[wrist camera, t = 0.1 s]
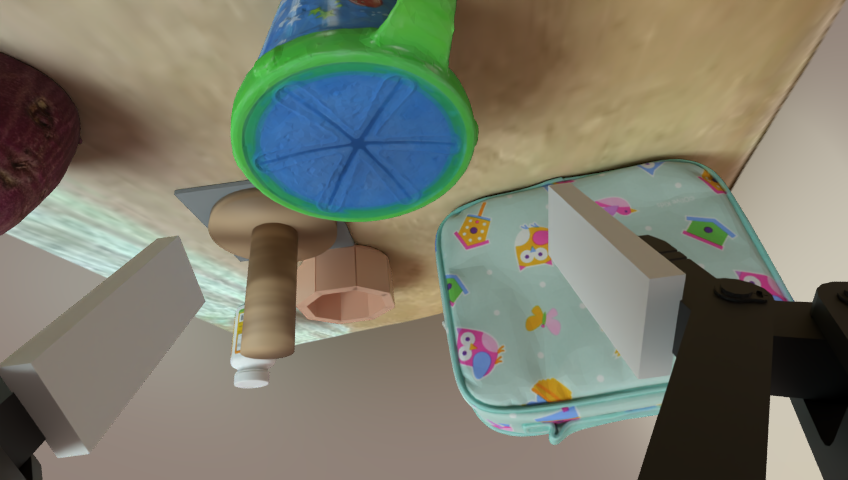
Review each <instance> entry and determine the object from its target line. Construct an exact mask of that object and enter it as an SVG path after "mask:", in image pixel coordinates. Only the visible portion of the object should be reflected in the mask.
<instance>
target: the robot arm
mask: <svg viewBox="0 0 848 480" xmlns="http://www.w3.org/2000/svg"><path fill="white" fill-rule="evenodd" d="M548 255H549V256H550V258H551V259H552V260H553V262H554V263H555V265H556V266H557V267H558V269H559V270H560V272H561V273H562V274H563V276H564V277H565V279H566V280H567V281H568V283H569V284H570V285H571V287H572V288H573V290H574V291H575V292H576V294H577V295H578V297H579V298H580V299H581V301H582V302H583V304H584V305H585V306H586V308H587V309H588V310H589V312H590V313H591V315H592V316H593V317H594V319H595V320H596V322H597V323H598V324H599V326H600V327H601V328H602V330H603V331H604V333H605V334H606V335H607V337H608V338H609V340H610V341H611V342H612V344H613V345H614V347H615V348H616V349H617V351H618V352H619V353H620V355H621V356H622V358H623V359H624V360H625V362H626V363H627V365H628V366H629V367H630V369H631V370H632V372H633V373H634V374H635V376H636V377H637V378H638V379H646V378H653V377H661V376H668V375H670V374H671V376H670V379H669V382H668V385H667V388H666V391H665V395H664V398H663V401H662V404H661V407H660V410H659V414H658V417H657V420H656V423H655V426H654V430H653V433H652V436H651V439H650V442H649V445H648V448H647V452H646V455H645V458H644V461H643V464H642V467H641V471H640V474H639V477H638V480H766V463H767V462H766V461H767V443H768V424H769V407H770V406H769V405H770V395H773V396H783V397H789V398H790V400H791V402H792V405H793V407H794V409H795V412H796V414H797V417H798V419H799V421H800V424H801V426H802V429H803V431H804V433H805V436H806V438H807V441H808V443H809V446H810V448H811V450H812V453H813V455H814V457H815V460H816V462H817V465H818V467H819V469H820V472H821V474H822V477H823V479H824V480H848V282H829V283H825V284H822V285H820V286H819V287H818V288H817V290H816V293H815V296H814V299H813V302H793V301H776V300H774V298H773V295H772V294H771V293H769V292H768V291H767V290H766V289H764V288H762V287H760V286H758V285H755V284H753V283H750V282H746V281H743V280H739V279H730V278H715V277H714V276H713V275H711V274H710V273H709V272H707V271H706V270H704V269H703V268H702V267H700V266H699V265H698V264H696V263H695V262H693V261H692V260H691V259H687V256H685V255H684V254H682V253H681V252H680V251H679V252H678V251H677V249H676V248H674V247H673V246H671V245H670V244H669V243H667V242H666V241H664V240H661V239H658V238H656V237H653V236H650V235H641V236H637V235H636V234H634V233H633V232H632V231H631V230H629V229H628V228H627V227H626V226H624V225H623V224H622V223H621V222H619V221H618V220H617V219H616V218H614V217H613V216H612V215H610V214H609V213H608V212H607V211H605V210H604V209H603V208H602V207H600V206H599V205H598V204H597V203H595V202H594V201H593V200H592V199H590V198H589V197H588V196H586V195H585V194H584V193H583V192H581V191H580V190H579V189H578V188H576V187H575V186H574V185H573V184H571V183H570V182H569V183H562V184H555V185H548ZM204 303H205V299H204V297H203V294H202V292H201V289H200V287H199V284H198V282H197V279H196V277H195V274H194V272H193V269H192V267H191V264H190V262H189V259H188V257H187V254H186V252H185V249H184V247H183V244H182V242H181V239H180V237H179V236H173V237H165V238H158V239H156V240H155V241H154V242H153V243H151V244H150V245H149V246H147V247H146V248H145V249H144V250H142V251H141V252H140V253H139V254H137V255H136V256H135V257H134V258H132V259H131V260H130V261H129V262H127V263H126V264H125V265H124V266H122V267H121V268H120V269H119V270H117V271H116V272H115V273H114V274H112V275H111V276H110V277H108V278H107V279H106V280H105V281H103V282H102V283H101V284H100V285H98V286H97V287H96V288H95V289H93V290H92V291H91V292H90V293H89V294H87V295H86V296H85V297H83V298H82V299H81V300H80V301H78V302H77V303H76V304H75V305H73V306H72V307H71V308H69V309H68V310H67V311H66V312H64V313H63V314H62V315H61V316H59V317H58V318H57V319H56V320H54V321H53V322H52V323H51V324H49V325H48V326H47V327H46V328H44V329H43V330H42V331H41V332H39V333H38V334H37V335H36V336H34V337H33V338H32V339H30V340H29V341H28V342H27V343H25V344H24V345H23V346H22V347H20V348H19V349H18V350H17V351H15V352H14V353H13V354H12V355H10V356H9V357H8V358H7V359H5V360H4V361H3V362H2V363H0V480H42V470H41V464H40V463H39V461H38V460H37V459H36V457H35V456H34V455H33V453H34V452H35V451H36V450H37V448H38V447H39V446H40V445H41V444H42V443H43V442H44V441H45V440H46V442H47V443H48V445H49V446H50V448H51V449H52V450H53V452H54V453H55V455H56V456H57V457H58V458H61V457H69V456H76V455H84V454H90V453H91V451H92V450H93V449H94V447H95V446H96V445H97V444H98V442H99V441H100V439H101V438H102V437H103V436H104V434H105V433H106V432H107V430H108V429H109V428H110V426H111V425H112V424H113V422H114V421H115V420H116V418H117V417H118V416H119V415H120V413H121V412H122V410H123V409H124V408H125V407H126V405H127V404H128V403H129V401H130V400H131V399H132V397H133V396H134V395H135V393H136V392H137V391H138V390H139V388H140V387H141V386H142V384H143V383H144V382H145V380H146V379H147V378H148V376H149V375H150V374H151V372H152V371H153V370H154V368H155V367H156V366H157V364H158V363H159V362H160V361H161V359H162V358H163V357H164V355H165V354H166V353H167V351H168V350H169V349H170V347H171V346H172V345H173V343H174V342H175V341H176V339H177V338H178V337H179V335H180V334H181V333H182V331H183V330H184V329H185V328H186V326H187V325H188V324H189V322H190V321H191V320H192V318H193V317H194V316H195V314H196V313H197V312H198V311H199V309H200V308H201V307H202V305H203V304H204ZM673 355H675V357H676V360H675V363H674V366H673V369H672V373H671V368H672V361H673Z"/></svg>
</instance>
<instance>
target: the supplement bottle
mask: <svg viewBox="0 0 848 480" xmlns="http://www.w3.org/2000/svg"><path fill="white" fill-rule="evenodd" d="M244 307H245V305H242V306H240V307H239V308H237V310H236V313H235V322H234V331H233V341H232V350H231V365H232V367H233V368H235V369H237V370H238V371H237V372H236V373H235V377H234V385H235V386H236V387H239V388H257V387H262V386H266V385H268V384H269V373H270V372H269V371H268V368H270V367H272V366H273V365H274V364H275V362H276V359H252V358H247V357H244V356H242V355H241V354H240V348H241V338H242V328H243V317H244Z"/></svg>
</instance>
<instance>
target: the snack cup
mask: <svg viewBox="0 0 848 480" xmlns="http://www.w3.org/2000/svg"><path fill="white" fill-rule="evenodd" d="M456 1H457V0H282V1H281V3H280V5H279V7H278V10H277V13H276V15H275V18H274V20H273V22H272V26H271V28H270V30H269V32H268V35H267V38H266V40H265V43H264V45H263V48H262V50H261V53H260V55H259V58H258V60H257V61H256V62H255V65H254V67H253V68H252V69H251V70H250V71H249V72H248V74H247V75H246V77H245V79H244V81H243V83H242V85H241V86H240V88H239V90H238V92H237V94H236V97H235V100H234V104H233V109H232V116H231V144H232V149H233V156H234V158H235V161H236V163H237V165H238V167H239V168H240V169H241V170H242V172H243V173H244V174H245V176H246V177H247V178H248V179H249V181H250V182H251V183H252V184H253V185H254V186H255V187H256V188H257V189H259V190H260V191H261V192H262V193H263V194H264V195H266V196H267V197H269V198H270V199H271V200H273V201H275V202H277V203H279V204H280V205H282V206H284V207H286V208H289V209H291V210H294V211H297V212H299V213H302V214H305V215H308V216H313V217H316V218H321V219H327V220H334V221H344V222H367V221H377V220H383V219H388V218H393V217H397V216H401V215H403V214H407V213H410V212H412V211H415V210H417V209H420V208H422V207H424V206H426V205H428V204H429V203H431V202H433V201H435V200H436V199H438V198H439V197H441V196H442V195H444V194H445V193H446V192H447V191H448V190H450V189H451V188H452V187H453V186H454V185H455V184H456V182H457V181H458V180H459V179H460V178H461V176H462V175H463V174H464V172H465V171H466V169H467V167H468V165H469V163H470V161H471V158H472V155H473V152H474V147H475V146H476V144H477V141H478V133H479V130H478V125H477V122H476V121H475V119H474V116H473V112H472V108H471V105H470V102H469V99H468V97H467V95H466V92H465V90H464V88H463V87H462V85H461V83H460V81H459V79H458V78H457V77H456V75H455V74H454V73H453V72H452V71H451V70H450V68H449V67H448V65H449V54H450V50H451V43H452V36H453V32H454V30H455V28H454V16H455V11H456Z"/></svg>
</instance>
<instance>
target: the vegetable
mask: <svg viewBox="0 0 848 480" xmlns="http://www.w3.org/2000/svg"><path fill="white" fill-rule="evenodd" d="M80 129H81V128H80V118H79V114H78V109H77V108H76V106H75V105H74V103H73V102H72V100H71V99H70V97H69V96H68V95H67V94H66V92H65V91H64V90H63V89H62V88H61V87H59V86H58V85H57V84H56V83H55V82H54V81H53V80H52V79H50V78H49V77H48V76H46V75H45V74H43V73H42V72H40V71H38V70H36V69H34V68H32V67H31V66H29V65H26V64H24V63H22V62H20V61H19V60H16V59H15V58H12V57H9V56H7V55H5V54H3V53H0V235H2V234H4V233H5V232H7V231H8V230H10V229H12V228H13V227H14V226H16V225H17V224H18V223H20V222H21V221H22V220H23V219H24V218H25V217H26V216H27V215H28V214H29V213H30V212H32V211H33V210H34V209H35V208H36V207H37V206H38V205H39V204H40V203H41V202H42V201H43V200H44V199H45V198H46V197H47V196H48V195H49V194H50V193H51V192H52V191H53V190H54V189H55V188H56V187H57V185H58V184H59V183H60V181H61V180H62V178H63V176H64V175H65V173H66V171H67V168H68V166H69V164H70V162H71V160H72V158H73V156H74V154H75V152H76V149H77V146H78V144H82V139H81V138H80Z"/></svg>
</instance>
